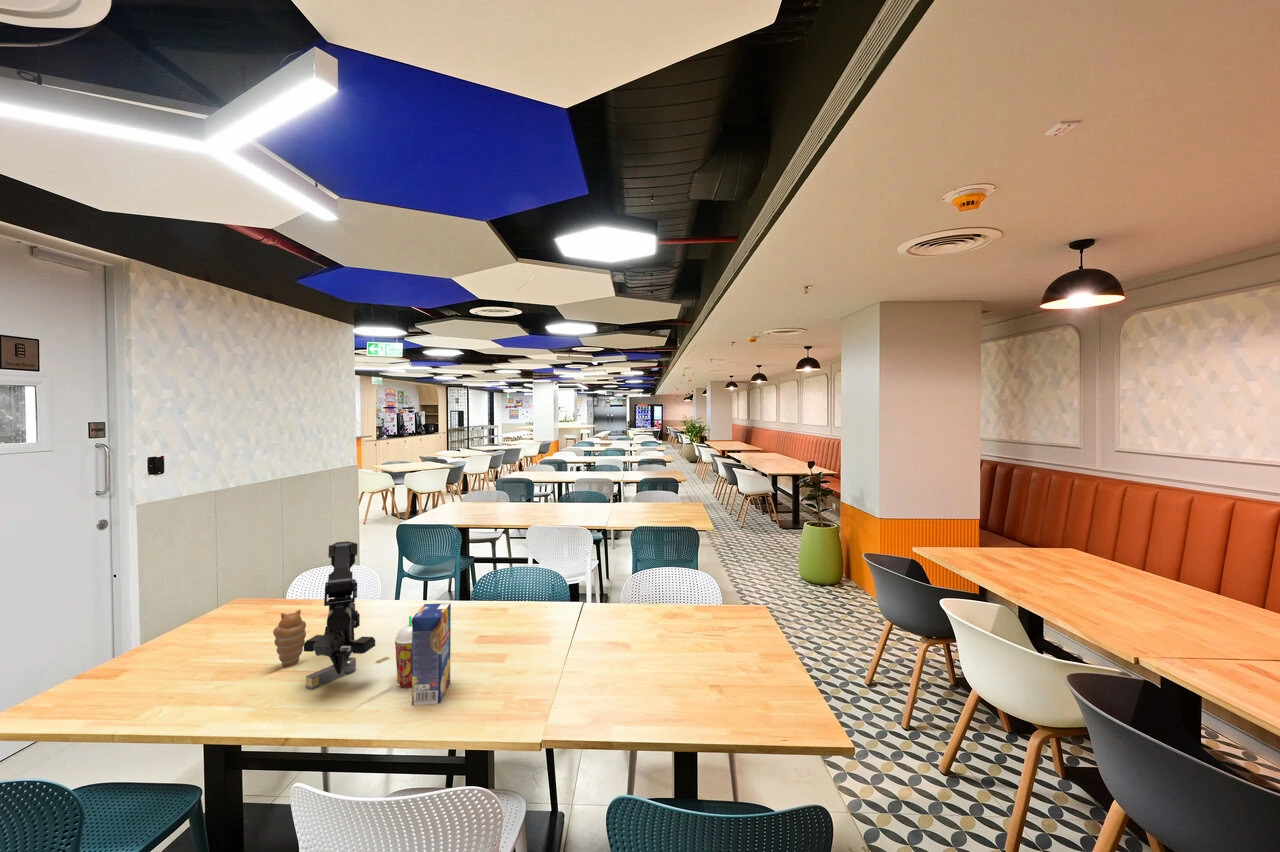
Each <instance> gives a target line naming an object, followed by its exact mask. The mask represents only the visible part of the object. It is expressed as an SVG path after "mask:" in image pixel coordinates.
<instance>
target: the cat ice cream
mask: <svg viewBox="0 0 1280 852" xmlns="http://www.w3.org/2000/svg"><path fill="white" fill-rule="evenodd" d="M301 611H302V610H301V609H298V610H296V611H294V612H291V613H288V614H287V613H284V612H281V613H280V621H279V622H278V625H277V626H276V627H275V628H274V629H273V631H272V633H273V636H274V645H275V646H276V653H277V654H278V660H279V661H280V662H281V666H282V667H283V668H285V669H287V668H290V667H293V666H296V665H298V663H299V660H300V656H301V655H302V653H303V652H304V644H305V642H306V640H305V638H306V636H307V632H306V626H307V623H306V621H305V620H303V619H302V617H301V613H302V612H301Z"/></svg>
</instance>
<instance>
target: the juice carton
mask: <svg viewBox="0 0 1280 852" xmlns="http://www.w3.org/2000/svg"><path fill="white" fill-rule="evenodd" d="M451 607H452V605H451V602H446V603H445V602H444V603H424V604H423V606H422V607H421V608H420V609H419V610H418V611H417V612H416V613H415V614H414V615H413V617H411V619H412V623H411V625H412V687H411V706H419V705H420V706H421V705H439V704H441V702H442V700H443V698H444V696H445V695H446V692H447V691H448V688H449V687H450V685H451V638H452V637H451V635H452V634H451V633H452V632H451V630H452V626H451V624H452V623H451V621H452V620H451V617H452V616H451V612H452V611H451V610H452V609H451Z"/></svg>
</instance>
